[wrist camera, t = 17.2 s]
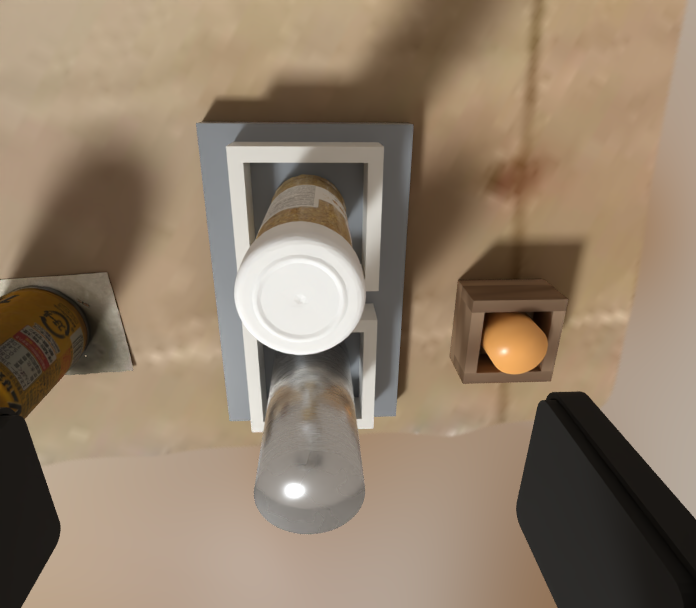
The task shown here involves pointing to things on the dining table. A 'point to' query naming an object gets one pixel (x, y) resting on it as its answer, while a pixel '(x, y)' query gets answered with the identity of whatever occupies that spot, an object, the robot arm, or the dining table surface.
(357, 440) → the grey domed bottle
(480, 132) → the dining table surface
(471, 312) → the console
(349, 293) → the sprinkles bottle
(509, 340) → the button
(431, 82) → the dining table surface
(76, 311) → the condiment
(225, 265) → the double square holder tray
